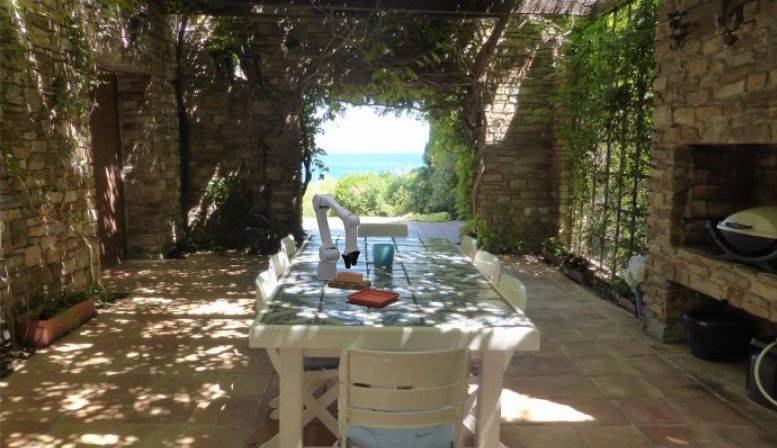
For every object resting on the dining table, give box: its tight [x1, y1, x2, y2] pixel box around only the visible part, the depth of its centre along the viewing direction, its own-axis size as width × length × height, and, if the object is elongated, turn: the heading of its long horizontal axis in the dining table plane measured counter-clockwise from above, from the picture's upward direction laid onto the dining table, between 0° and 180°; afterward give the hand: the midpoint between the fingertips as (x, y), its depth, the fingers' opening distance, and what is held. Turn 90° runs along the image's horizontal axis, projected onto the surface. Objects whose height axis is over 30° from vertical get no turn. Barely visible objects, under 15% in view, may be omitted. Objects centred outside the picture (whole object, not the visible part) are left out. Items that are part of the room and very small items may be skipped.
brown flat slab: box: [327, 278, 372, 291], centre depth 269 cm, size 19×9×2 cm, turn 72°
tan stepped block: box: [337, 270, 364, 284], centre depth 269 cm, size 12×4×7 cm, turn 72°
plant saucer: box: [345, 288, 401, 308], centre depth 245 cm, size 18×18×3 cm
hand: (351, 267), depth 271 cm, fingers open, 7 cm apart
